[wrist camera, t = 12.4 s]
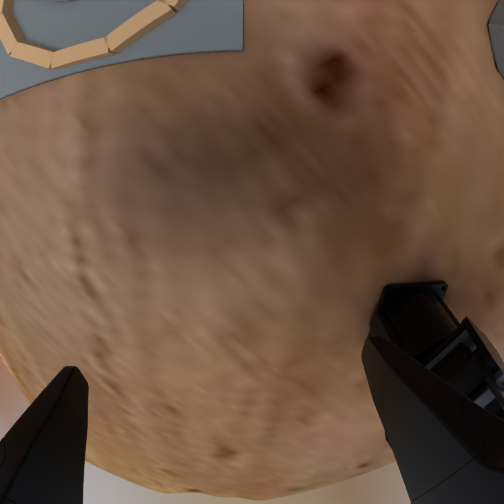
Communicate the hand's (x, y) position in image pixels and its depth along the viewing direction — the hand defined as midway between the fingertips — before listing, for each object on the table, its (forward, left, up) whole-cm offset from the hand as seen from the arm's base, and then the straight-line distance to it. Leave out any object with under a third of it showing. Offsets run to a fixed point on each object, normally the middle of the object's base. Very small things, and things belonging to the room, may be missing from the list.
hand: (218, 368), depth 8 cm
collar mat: (+8, -18, -12) cm, 23 cm away
